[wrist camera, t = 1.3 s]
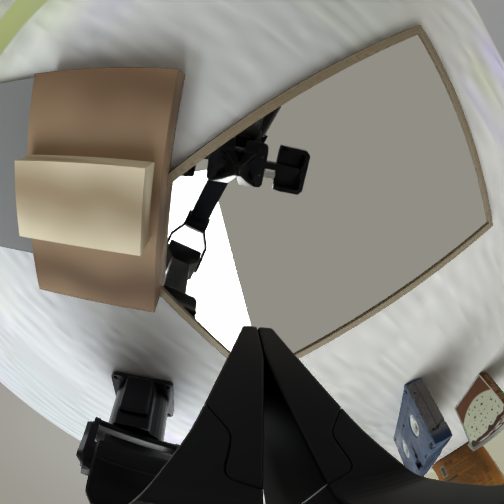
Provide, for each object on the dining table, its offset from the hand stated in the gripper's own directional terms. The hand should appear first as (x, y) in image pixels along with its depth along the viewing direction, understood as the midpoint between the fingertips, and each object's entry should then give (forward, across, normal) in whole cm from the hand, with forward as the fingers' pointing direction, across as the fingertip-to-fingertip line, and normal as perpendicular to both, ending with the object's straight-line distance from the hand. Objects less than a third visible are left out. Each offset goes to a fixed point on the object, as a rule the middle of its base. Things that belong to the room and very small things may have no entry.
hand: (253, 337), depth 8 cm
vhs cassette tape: (+13, -29, +26) cm, 41 cm away
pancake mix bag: (+13, -70, +56) cm, 91 cm away
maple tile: (+10, +10, 0) cm, 14 cm away
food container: (+13, -45, +23) cm, 52 cm away
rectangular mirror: (+14, -7, 0) cm, 15 cm away
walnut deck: (+13, +10, 0) cm, 16 cm away
